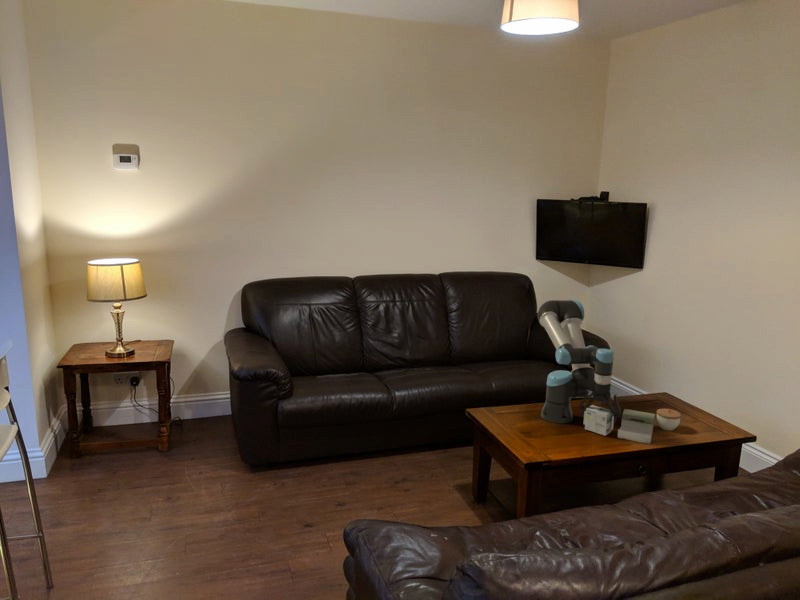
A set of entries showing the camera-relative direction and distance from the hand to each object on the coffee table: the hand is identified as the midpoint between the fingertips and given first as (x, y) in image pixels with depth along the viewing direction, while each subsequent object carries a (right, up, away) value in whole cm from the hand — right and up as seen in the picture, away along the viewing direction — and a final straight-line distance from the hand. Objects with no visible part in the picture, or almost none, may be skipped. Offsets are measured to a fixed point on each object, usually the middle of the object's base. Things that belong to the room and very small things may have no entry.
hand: (598, 426), depth 282 cm
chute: (+17, -4, -2) cm, 17 cm away
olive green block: (+22, -2, +8) cm, 23 cm away
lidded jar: (+35, -2, +6) cm, 36 cm away
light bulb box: (0, -3, +1) cm, 3 cm away
